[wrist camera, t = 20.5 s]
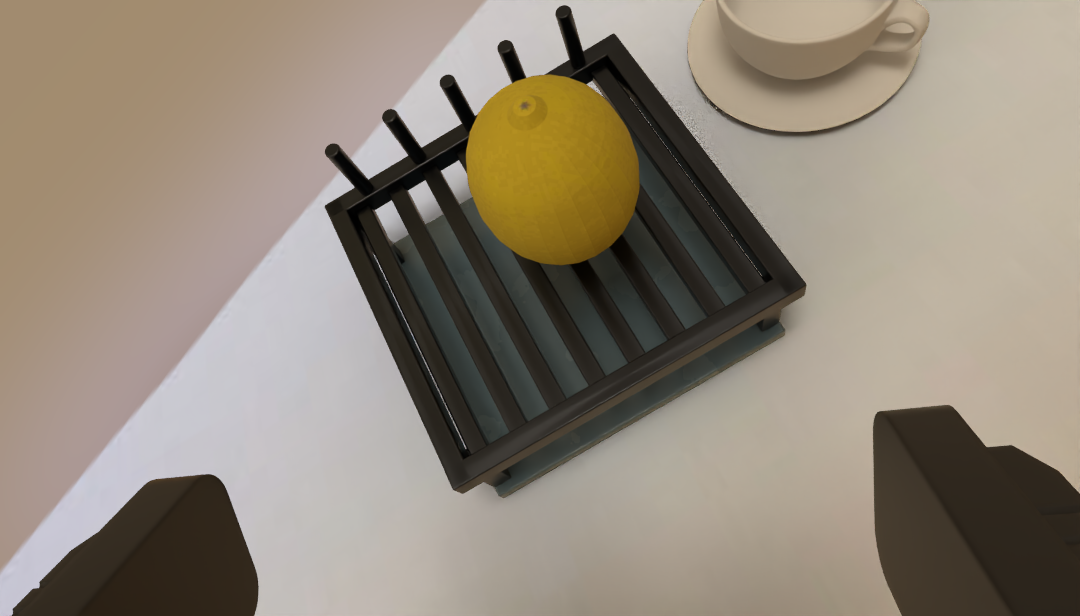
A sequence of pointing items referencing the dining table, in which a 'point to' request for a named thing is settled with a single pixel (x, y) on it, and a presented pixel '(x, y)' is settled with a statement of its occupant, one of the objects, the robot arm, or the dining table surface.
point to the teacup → (803, 58)
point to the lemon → (552, 169)
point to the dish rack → (561, 289)
